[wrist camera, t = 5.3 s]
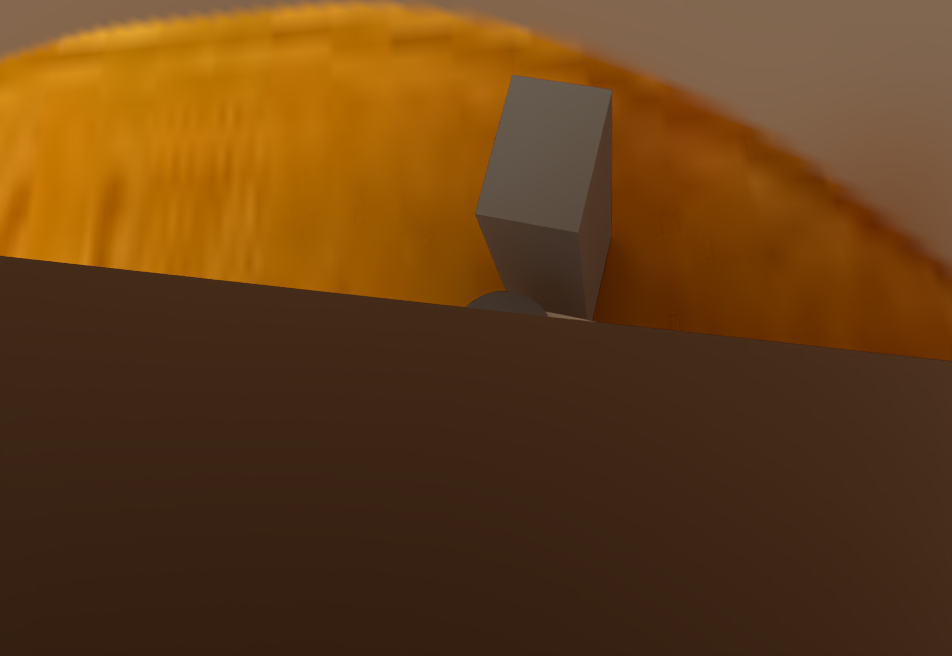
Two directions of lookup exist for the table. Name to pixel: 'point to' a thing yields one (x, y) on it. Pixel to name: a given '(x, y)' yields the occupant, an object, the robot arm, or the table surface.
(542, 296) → the gray upright block
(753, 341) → the doorstop post
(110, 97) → the table surface
